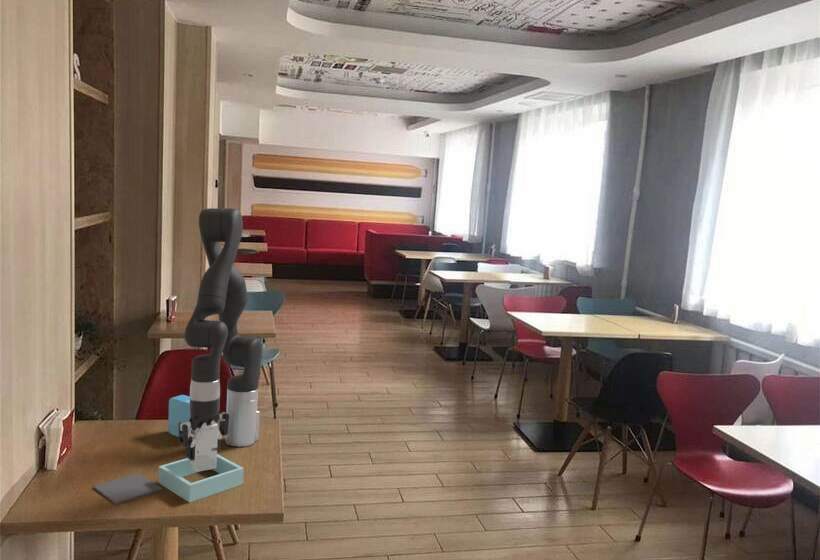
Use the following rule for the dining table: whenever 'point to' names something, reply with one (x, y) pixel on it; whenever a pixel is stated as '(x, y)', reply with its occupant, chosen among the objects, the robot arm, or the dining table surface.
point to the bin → (197, 490)
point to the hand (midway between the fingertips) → (203, 455)
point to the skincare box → (205, 449)
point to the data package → (178, 413)
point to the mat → (127, 488)
